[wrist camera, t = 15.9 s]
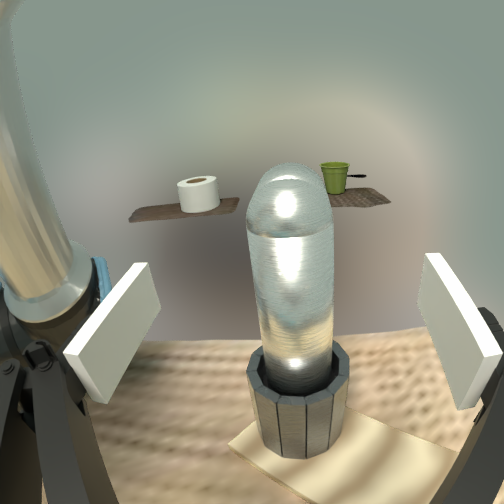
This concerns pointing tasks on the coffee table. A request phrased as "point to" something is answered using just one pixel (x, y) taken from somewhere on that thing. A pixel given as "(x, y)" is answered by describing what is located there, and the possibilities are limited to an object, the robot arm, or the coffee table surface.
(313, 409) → the grey wooden bucket
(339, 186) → the plant pot
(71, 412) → the robot arm
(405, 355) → the coffee table surface
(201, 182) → the toilet paper roll
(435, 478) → the birch board
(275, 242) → the polished capsule rod
